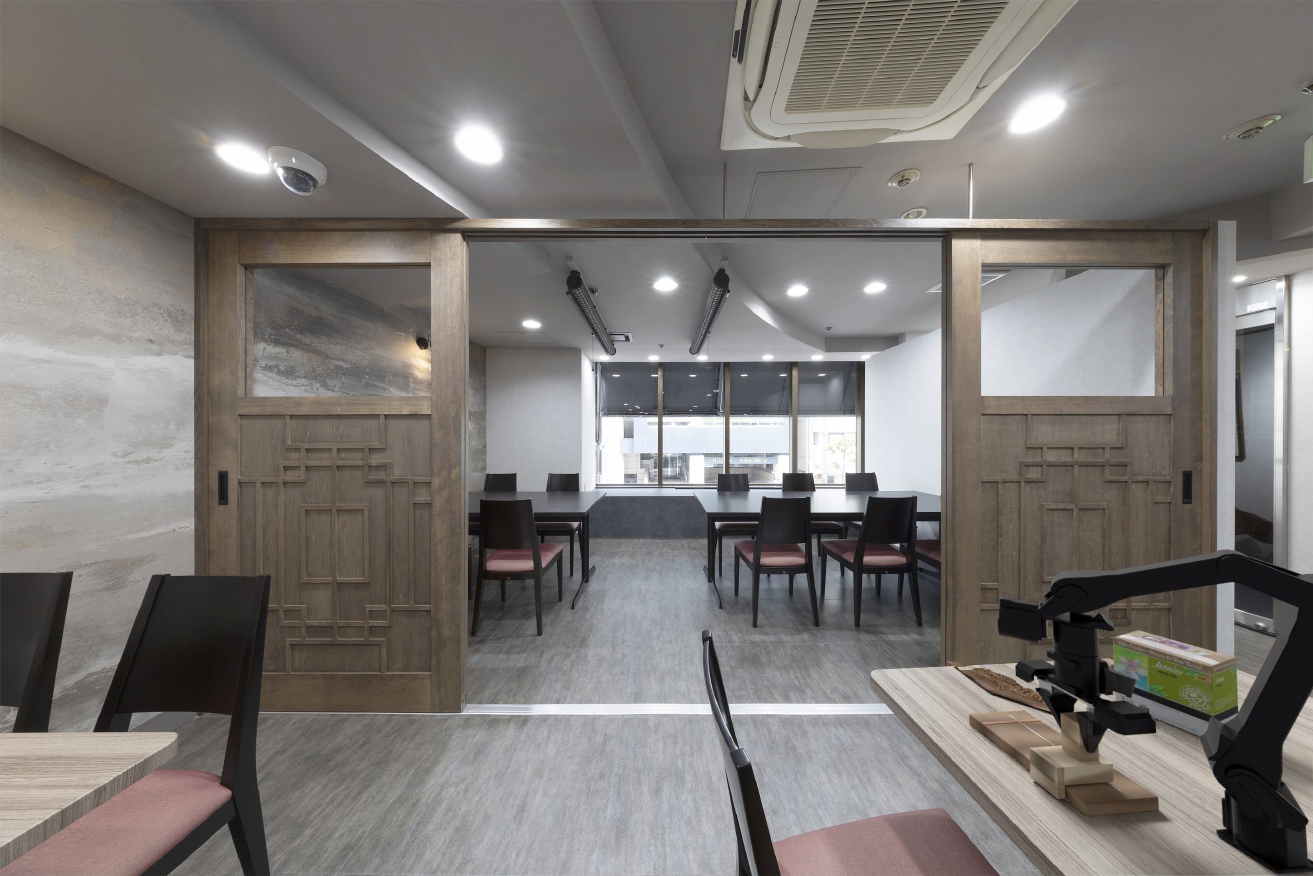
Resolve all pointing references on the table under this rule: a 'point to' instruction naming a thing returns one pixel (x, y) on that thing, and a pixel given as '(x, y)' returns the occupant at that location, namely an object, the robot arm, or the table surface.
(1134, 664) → the tea box
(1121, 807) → the walnut board
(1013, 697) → the wooden fragment
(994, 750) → the table surface
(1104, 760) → the block
